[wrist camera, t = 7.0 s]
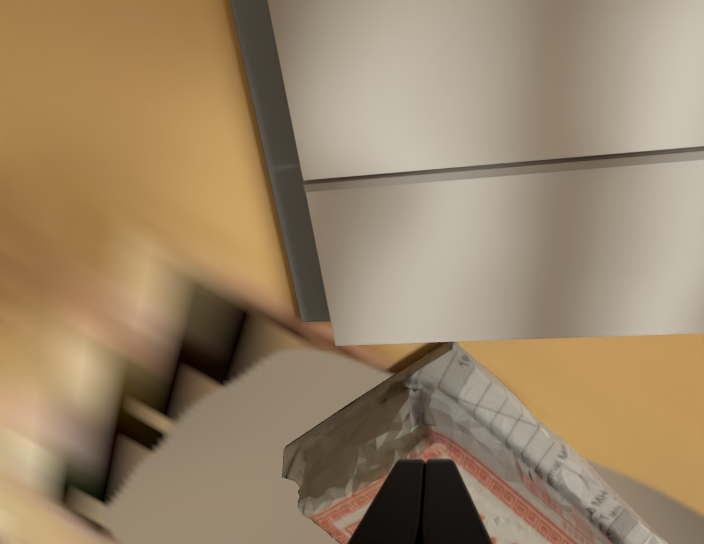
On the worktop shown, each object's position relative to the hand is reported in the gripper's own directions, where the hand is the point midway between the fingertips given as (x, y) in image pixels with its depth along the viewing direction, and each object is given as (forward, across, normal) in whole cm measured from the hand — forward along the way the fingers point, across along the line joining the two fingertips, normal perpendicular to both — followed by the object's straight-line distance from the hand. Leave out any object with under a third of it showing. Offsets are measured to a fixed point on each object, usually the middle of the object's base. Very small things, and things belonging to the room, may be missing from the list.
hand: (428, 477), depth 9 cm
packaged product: (+13, -2, +16) cm, 21 cm away
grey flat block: (+12, -4, +2) cm, 13 cm away
